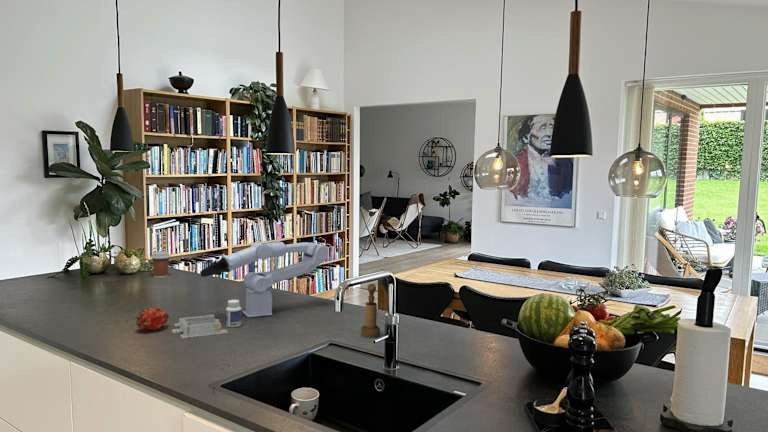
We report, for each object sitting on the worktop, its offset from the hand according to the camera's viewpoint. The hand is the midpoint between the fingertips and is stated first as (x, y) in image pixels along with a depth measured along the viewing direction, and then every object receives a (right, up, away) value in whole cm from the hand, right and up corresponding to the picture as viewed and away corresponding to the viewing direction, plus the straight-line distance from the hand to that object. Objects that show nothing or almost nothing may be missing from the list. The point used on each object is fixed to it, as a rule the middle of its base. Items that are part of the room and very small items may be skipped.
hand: (203, 273), depth 195 cm
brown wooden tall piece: (+60, -21, -6) cm, 64 cm away
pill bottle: (+11, -19, 0) cm, 22 cm away
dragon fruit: (-15, -19, -8) cm, 25 cm away
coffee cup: (-47, -10, +76) cm, 89 cm away
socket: (0, -19, -6) cm, 20 cm away
